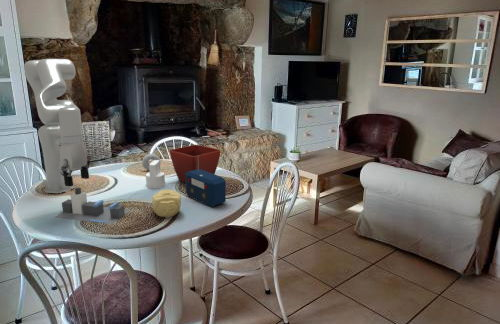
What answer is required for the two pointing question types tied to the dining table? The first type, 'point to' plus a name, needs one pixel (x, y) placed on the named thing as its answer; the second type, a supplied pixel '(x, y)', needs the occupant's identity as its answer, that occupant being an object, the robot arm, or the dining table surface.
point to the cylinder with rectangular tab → (155, 176)
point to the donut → (146, 160)
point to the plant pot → (194, 159)
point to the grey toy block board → (94, 212)
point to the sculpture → (166, 203)
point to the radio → (205, 187)
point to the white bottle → (78, 201)
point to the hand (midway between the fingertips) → (77, 182)
